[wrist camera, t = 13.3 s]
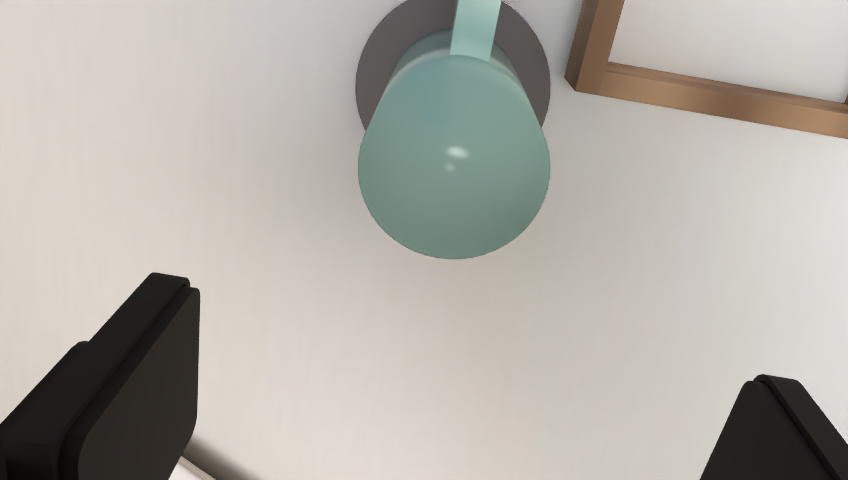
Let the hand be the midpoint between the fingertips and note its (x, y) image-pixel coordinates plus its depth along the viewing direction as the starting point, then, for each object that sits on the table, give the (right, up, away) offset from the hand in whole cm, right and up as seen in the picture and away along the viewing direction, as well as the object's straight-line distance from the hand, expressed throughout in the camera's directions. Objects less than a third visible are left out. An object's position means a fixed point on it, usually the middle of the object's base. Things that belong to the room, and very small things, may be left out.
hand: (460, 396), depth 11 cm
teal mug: (+1, +10, +19) cm, 22 cm away
